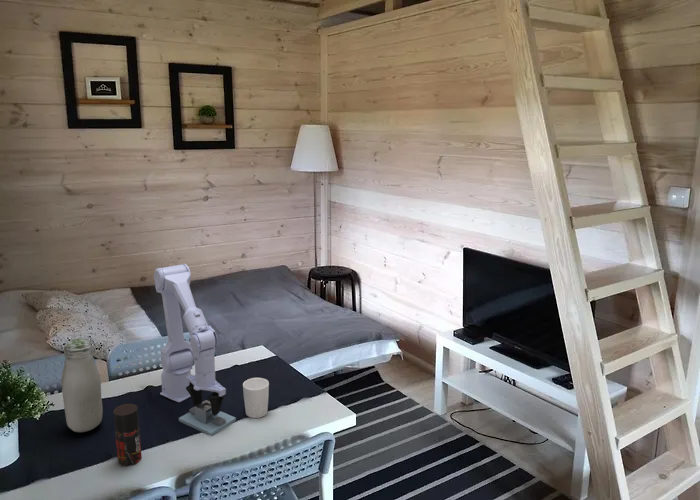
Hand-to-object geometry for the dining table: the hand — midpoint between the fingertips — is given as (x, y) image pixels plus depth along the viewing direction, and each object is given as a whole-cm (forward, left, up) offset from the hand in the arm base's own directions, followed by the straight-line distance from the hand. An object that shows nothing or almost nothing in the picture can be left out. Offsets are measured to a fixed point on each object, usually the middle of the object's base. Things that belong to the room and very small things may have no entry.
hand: (206, 410), depth 167 cm
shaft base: (0, 0, -4) cm, 4 cm away
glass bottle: (-26, -23, -4) cm, 35 cm away
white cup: (+9, +12, -4) cm, 15 cm away
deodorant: (-3, -25, -4) cm, 25 cm away
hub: (0, 0, -3) cm, 3 cm away
